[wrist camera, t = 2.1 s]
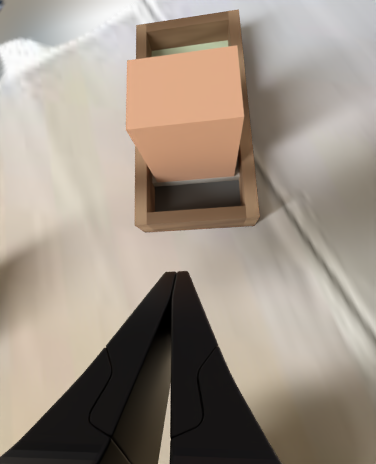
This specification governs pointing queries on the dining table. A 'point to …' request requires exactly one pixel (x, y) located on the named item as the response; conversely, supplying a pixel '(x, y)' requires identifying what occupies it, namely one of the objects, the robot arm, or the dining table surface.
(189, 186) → the box
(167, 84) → the block
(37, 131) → the dining table surface
